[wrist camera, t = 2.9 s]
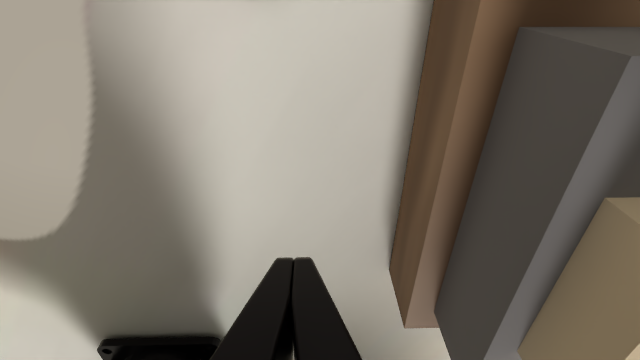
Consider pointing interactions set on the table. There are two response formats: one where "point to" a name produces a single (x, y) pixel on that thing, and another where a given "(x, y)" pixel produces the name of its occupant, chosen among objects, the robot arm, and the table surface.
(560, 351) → the grey and beige block
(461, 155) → the board
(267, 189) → the table surface
